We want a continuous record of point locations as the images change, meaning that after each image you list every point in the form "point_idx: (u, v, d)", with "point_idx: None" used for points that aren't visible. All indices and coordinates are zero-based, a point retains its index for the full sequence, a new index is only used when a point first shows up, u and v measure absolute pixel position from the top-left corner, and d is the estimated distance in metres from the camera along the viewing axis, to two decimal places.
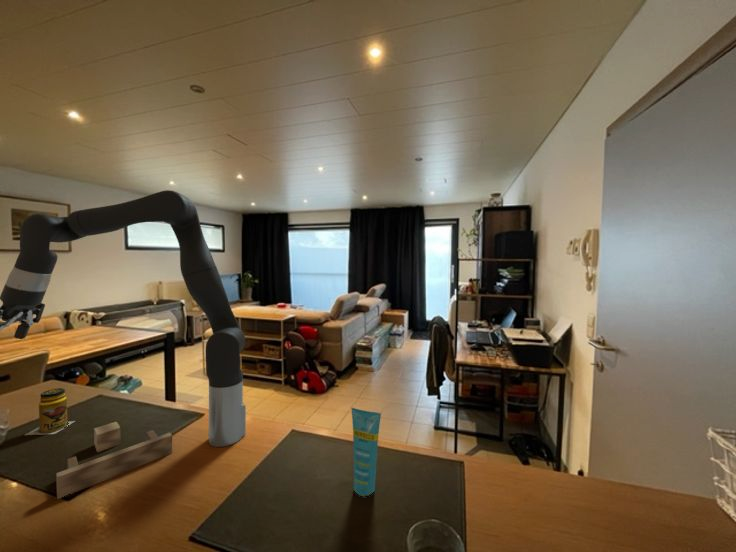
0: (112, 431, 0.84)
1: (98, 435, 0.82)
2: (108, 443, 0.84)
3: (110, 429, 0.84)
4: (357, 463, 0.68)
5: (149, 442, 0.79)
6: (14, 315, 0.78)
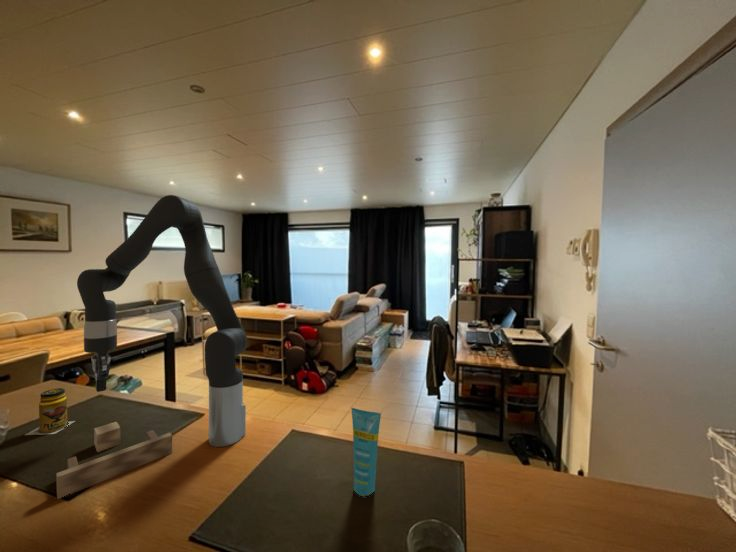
0: (112, 431, 0.84)
1: (98, 435, 0.82)
2: (108, 443, 0.84)
3: (110, 429, 0.84)
4: (357, 463, 0.68)
5: (149, 442, 0.79)
6: (108, 361, 0.91)
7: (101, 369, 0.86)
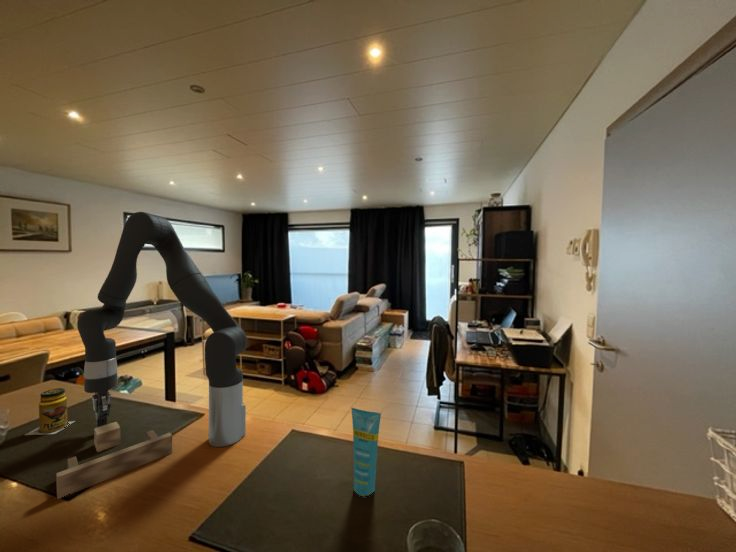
0: (112, 431, 0.84)
1: (98, 435, 0.82)
2: (108, 443, 0.84)
3: (110, 429, 0.84)
4: (357, 463, 0.68)
5: (149, 442, 0.79)
6: (109, 400, 0.91)
7: (102, 409, 0.87)
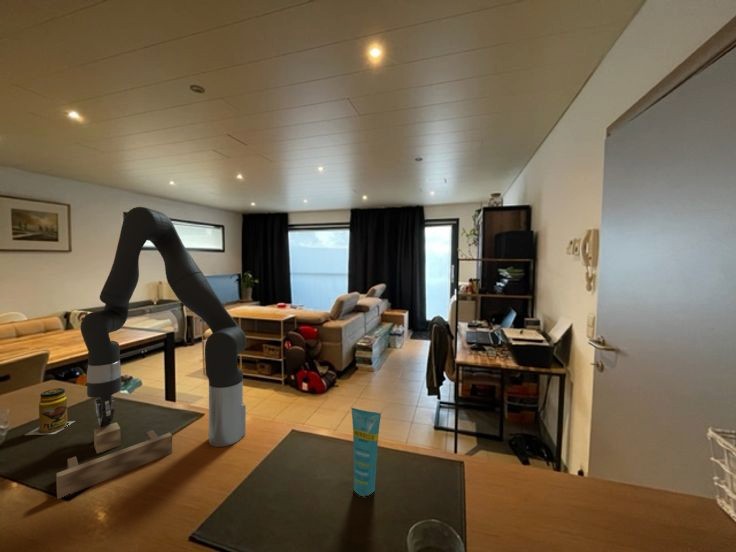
0: (112, 432, 0.84)
1: (98, 436, 0.81)
2: (108, 444, 0.83)
3: (110, 430, 0.84)
4: (357, 463, 0.68)
5: (149, 442, 0.79)
6: (112, 404, 0.88)
7: (105, 415, 0.84)
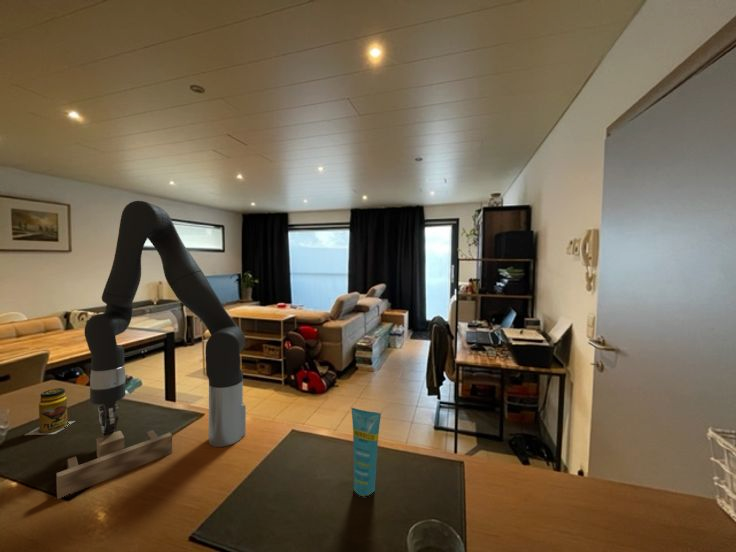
0: (116, 441, 0.79)
1: (101, 446, 0.77)
2: None
3: (114, 439, 0.80)
4: (357, 463, 0.68)
5: (149, 442, 0.79)
6: (116, 411, 0.84)
7: (108, 423, 0.80)
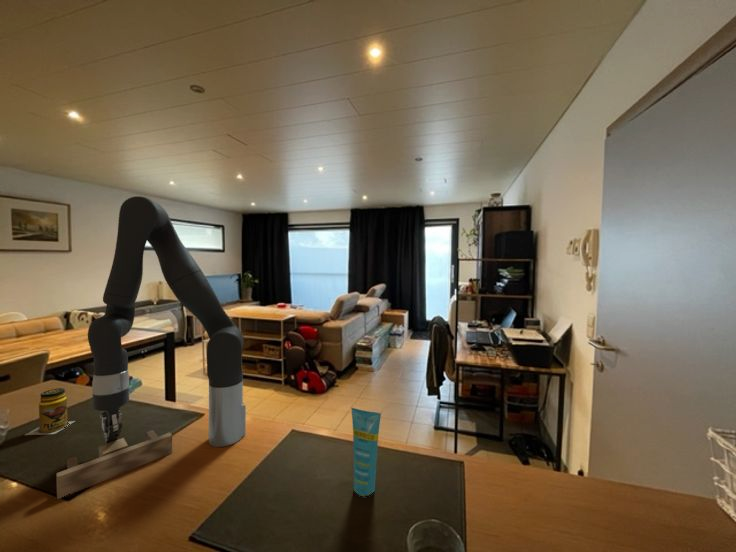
0: (119, 449, 0.76)
1: (103, 454, 0.74)
2: None
3: (117, 447, 0.76)
4: (357, 463, 0.68)
5: (149, 442, 0.79)
6: (119, 418, 0.80)
7: (112, 430, 0.76)
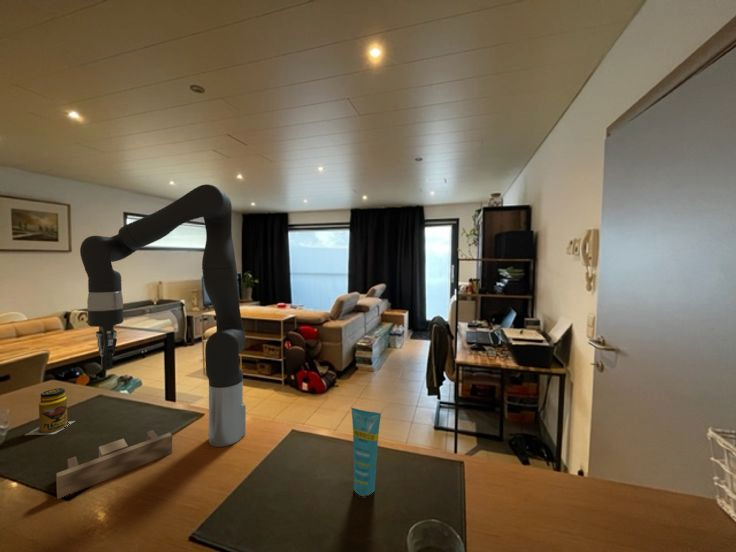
0: (119, 450, 0.76)
1: (103, 455, 0.74)
2: None
3: (117, 448, 0.76)
4: (357, 463, 0.68)
5: (149, 442, 0.79)
6: (114, 336, 0.84)
7: (107, 344, 0.80)
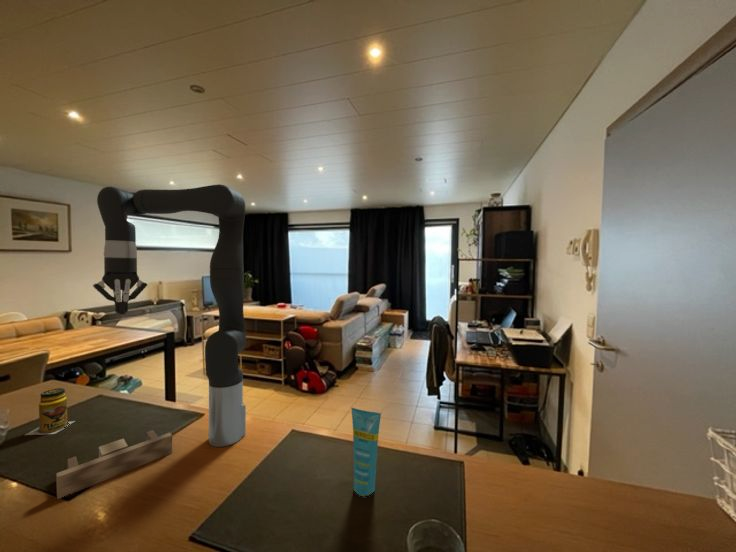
0: (119, 450, 0.76)
1: (103, 455, 0.74)
2: None
3: (117, 448, 0.76)
4: (357, 463, 0.68)
5: (149, 442, 0.79)
6: (114, 284, 0.87)
7: None
